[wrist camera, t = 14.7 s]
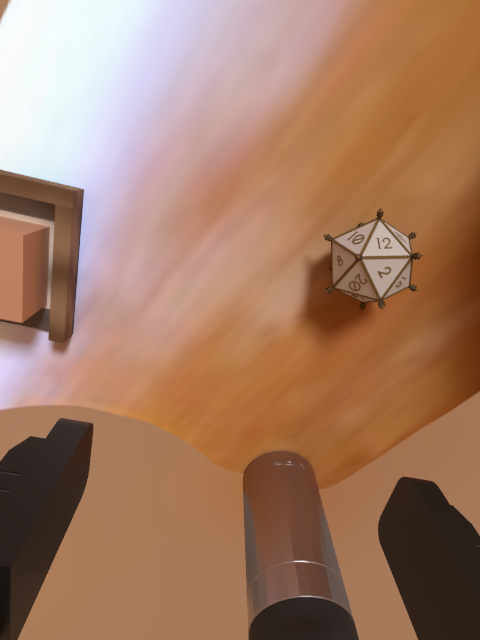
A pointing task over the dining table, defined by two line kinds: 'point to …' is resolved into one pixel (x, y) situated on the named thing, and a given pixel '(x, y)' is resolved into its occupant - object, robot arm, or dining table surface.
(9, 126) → the dining table surface
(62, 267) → the tray
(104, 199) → the dining table surface
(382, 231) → the game die
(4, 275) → the block
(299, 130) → the dining table surface
